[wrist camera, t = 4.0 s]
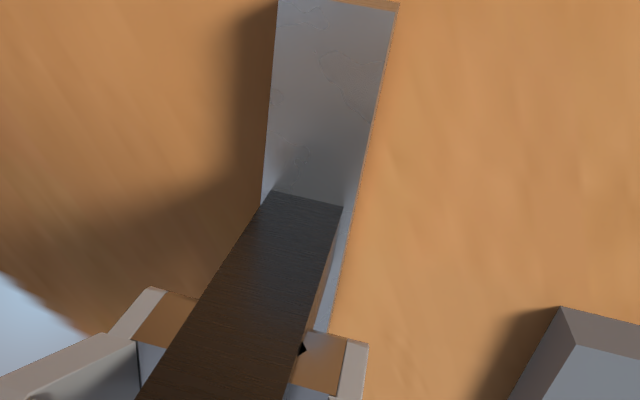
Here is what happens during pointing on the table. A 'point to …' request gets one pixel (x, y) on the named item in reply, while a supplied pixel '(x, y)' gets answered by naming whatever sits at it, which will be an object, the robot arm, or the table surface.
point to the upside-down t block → (289, 209)
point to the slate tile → (583, 360)
